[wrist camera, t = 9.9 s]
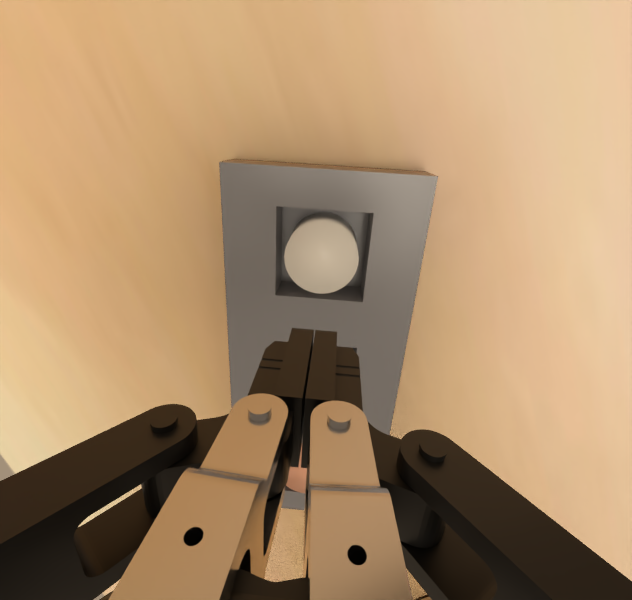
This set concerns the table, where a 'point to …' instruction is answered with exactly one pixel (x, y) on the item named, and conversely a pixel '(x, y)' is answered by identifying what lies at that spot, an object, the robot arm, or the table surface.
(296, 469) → the terracotta button
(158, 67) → the table surface
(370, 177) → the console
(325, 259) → the offwhite button
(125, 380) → the table surface
